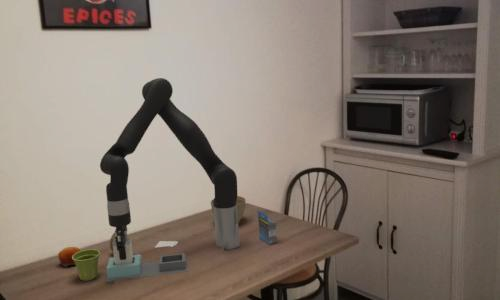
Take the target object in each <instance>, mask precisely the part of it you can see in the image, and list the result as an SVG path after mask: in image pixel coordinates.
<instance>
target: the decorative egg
mask: <svg viewBox="0 0 500 300" xmlns="http://www.w3.org/2000/svg"><path fill="white" fill-rule="evenodd" d="M114 239H115V231H114V232H113V234H112V235H111V237H110V240H109V245H110V246H109V247H110V249H111V251H112V252H113V240H114Z"/></svg>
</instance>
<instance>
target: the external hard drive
mask: <svg viewBox="0 0 500 300" xmlns="http://www.w3.org/2000/svg"><path fill="white" fill-rule="evenodd" d="M178 245H179V241H177V240H172V241H171V240H167V241H166V240H164V241H163V240H162V241H161V240H160V241H158V242H157V244H156V245H155V246H154V248H162V247H163V248H164V247H171V248H173V247H174V246H178Z"/></svg>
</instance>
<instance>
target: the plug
mask: <svg viewBox="0 0 500 300" xmlns="http://www.w3.org/2000/svg"><path fill="white" fill-rule="evenodd" d="M120 247H122V245H120ZM125 247H126V249H125V250H126V259H125V260H120V257H119V251H117V245H116V240H115V239H114V240H113V251H112V253H113V257H114V262H115V265H120V264H129V263H134V262H133V255H134V254H133V243H132V237H127V238H126V243H125Z"/></svg>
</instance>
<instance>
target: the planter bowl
mask: <svg viewBox="0 0 500 300" xmlns="http://www.w3.org/2000/svg"><path fill="white" fill-rule="evenodd" d="M213 200H214V198H213V199H211V200H210V205H211V206H210V207H211V211H212V214H213V215H214V205H213ZM236 205H237V223H238V224H240V223H241V219H242V217H243V216H244V213H245V209H246V198H245V197H243V196H240V195H237V200H236Z"/></svg>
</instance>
